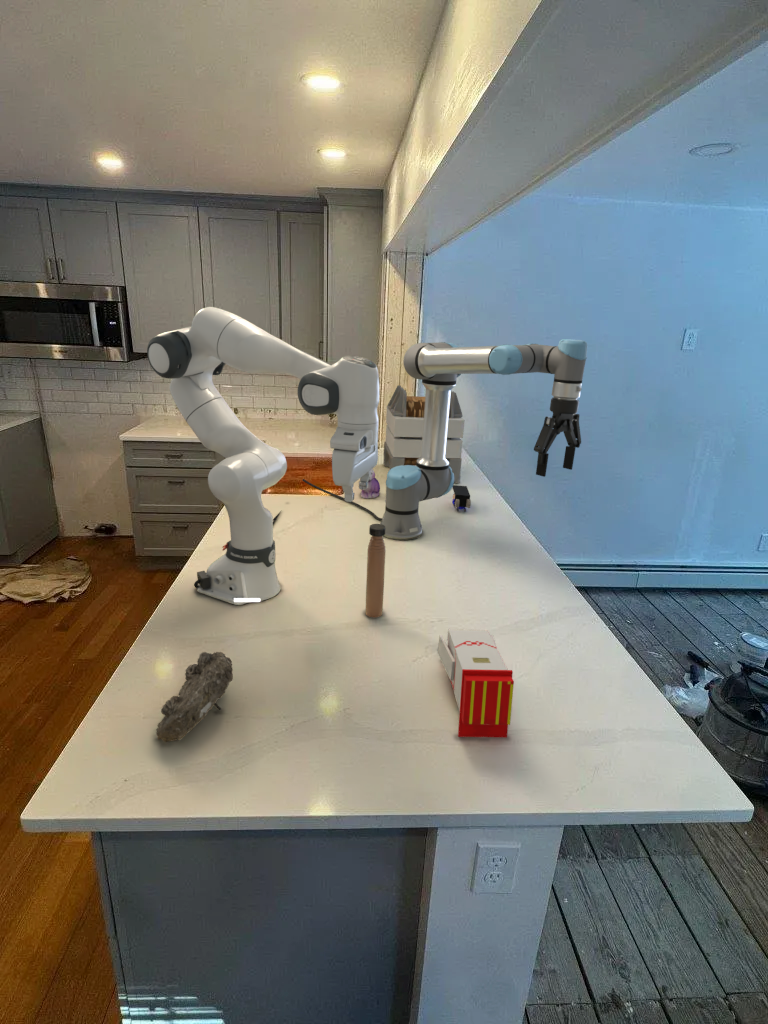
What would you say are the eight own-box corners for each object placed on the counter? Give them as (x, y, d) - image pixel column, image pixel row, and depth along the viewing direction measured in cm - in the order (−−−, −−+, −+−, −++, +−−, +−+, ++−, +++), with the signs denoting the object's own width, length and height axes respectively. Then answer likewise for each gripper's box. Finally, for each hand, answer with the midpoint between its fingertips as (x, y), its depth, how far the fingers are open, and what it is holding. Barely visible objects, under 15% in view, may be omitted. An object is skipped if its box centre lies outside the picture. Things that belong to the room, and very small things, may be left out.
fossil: (183, 653, 120) (233, 621, 115) (215, 683, 122) (265, 653, 117) (132, 735, 100) (190, 701, 95) (171, 768, 103) (229, 737, 98)
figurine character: (470, 516, 223) (465, 500, 237) (473, 499, 220) (467, 484, 233) (453, 516, 223) (449, 500, 236) (455, 498, 220) (451, 483, 233)
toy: (488, 613, 130) (523, 677, 101) (484, 667, 133) (517, 744, 104) (435, 612, 130) (455, 676, 101) (432, 666, 133) (451, 743, 103)
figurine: (365, 500, 232) (366, 464, 227) (354, 493, 241) (355, 458, 236) (385, 497, 237) (387, 463, 231) (374, 490, 245) (375, 457, 240)
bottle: (384, 616, 146) (388, 530, 138) (367, 618, 145) (370, 532, 137) (379, 608, 150) (383, 524, 142) (363, 609, 149) (366, 525, 141)
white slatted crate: (382, 463, 289) (386, 382, 275) (445, 464, 293) (451, 384, 279) (390, 482, 257) (394, 392, 243) (460, 483, 261) (468, 394, 247)
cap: (387, 536, 139) (387, 529, 138) (371, 537, 138) (371, 529, 137) (382, 530, 142) (383, 523, 142) (367, 531, 141) (367, 524, 140)
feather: (288, 505, 226) (290, 501, 226) (271, 529, 199) (273, 524, 199) (284, 503, 226) (287, 499, 225) (266, 526, 199) (269, 522, 199)
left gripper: (359, 424, 133) (358, 480, 138) (326, 441, 115) (326, 506, 119) (385, 426, 132) (383, 483, 136) (356, 445, 113) (354, 510, 118)
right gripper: (551, 403, 146) (539, 481, 154) (601, 397, 162) (588, 468, 169) (527, 399, 152) (517, 475, 159) (577, 393, 167) (566, 463, 174)
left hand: (356, 494), depth 128 cm, fingers open, 8 cm apart
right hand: (554, 472), depth 164 cm, fingers open, 13 cm apart
